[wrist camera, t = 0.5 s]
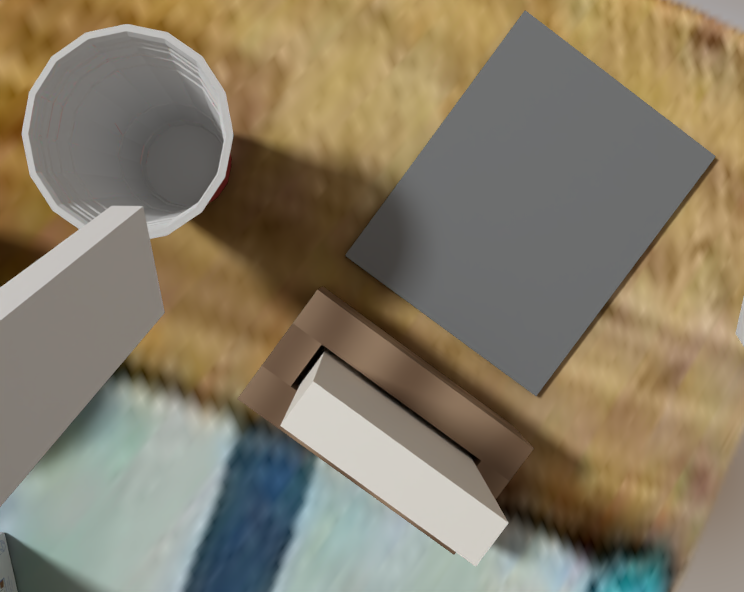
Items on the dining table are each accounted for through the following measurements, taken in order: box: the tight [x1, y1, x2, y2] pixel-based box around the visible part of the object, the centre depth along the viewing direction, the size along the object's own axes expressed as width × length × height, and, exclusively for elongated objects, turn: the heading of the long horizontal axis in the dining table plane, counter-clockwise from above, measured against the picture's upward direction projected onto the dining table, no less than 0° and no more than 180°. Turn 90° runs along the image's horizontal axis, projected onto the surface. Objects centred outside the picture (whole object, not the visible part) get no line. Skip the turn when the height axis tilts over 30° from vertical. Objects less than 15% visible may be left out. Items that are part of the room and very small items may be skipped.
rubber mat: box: [345, 11, 716, 396], centre depth 47 cm, size 16×20×1 cm
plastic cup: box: [22, 24, 233, 239], centre depth 41 cm, size 11×11×12 cm
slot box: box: [238, 286, 534, 554], centre depth 45 cm, size 16×8×6 cm, turn 54°
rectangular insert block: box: [280, 347, 508, 566], centre depth 39 cm, size 11×2×15 cm, turn 54°
